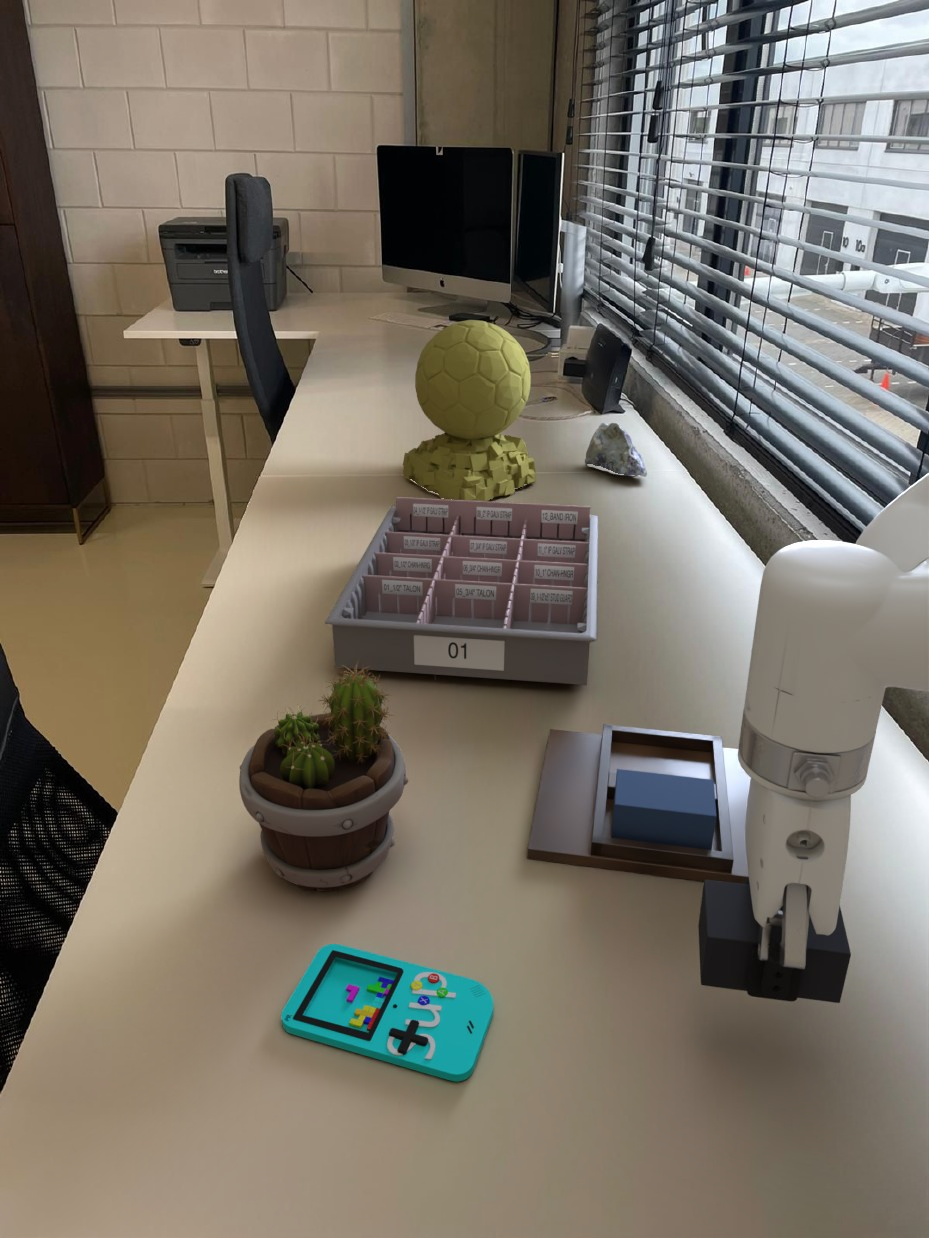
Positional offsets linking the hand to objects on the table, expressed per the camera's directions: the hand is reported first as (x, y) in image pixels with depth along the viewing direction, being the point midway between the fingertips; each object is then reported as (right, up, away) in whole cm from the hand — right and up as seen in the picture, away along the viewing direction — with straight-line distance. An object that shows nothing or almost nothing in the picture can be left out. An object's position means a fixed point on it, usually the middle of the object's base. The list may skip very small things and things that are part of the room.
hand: (766, 957), depth 65 cm
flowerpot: (-33, +1, +22) cm, 40 cm away
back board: (-2, +5, +29) cm, 29 cm away
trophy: (-20, +50, +116) cm, 128 cm away
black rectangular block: (0, 0, 0) cm, 0 cm away
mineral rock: (+9, +52, +120) cm, 131 cm away
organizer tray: (-19, +24, +66) cm, 73 cm away
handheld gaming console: (-27, -7, +7) cm, 28 cm away
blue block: (-2, +4, +24) cm, 24 cm away
